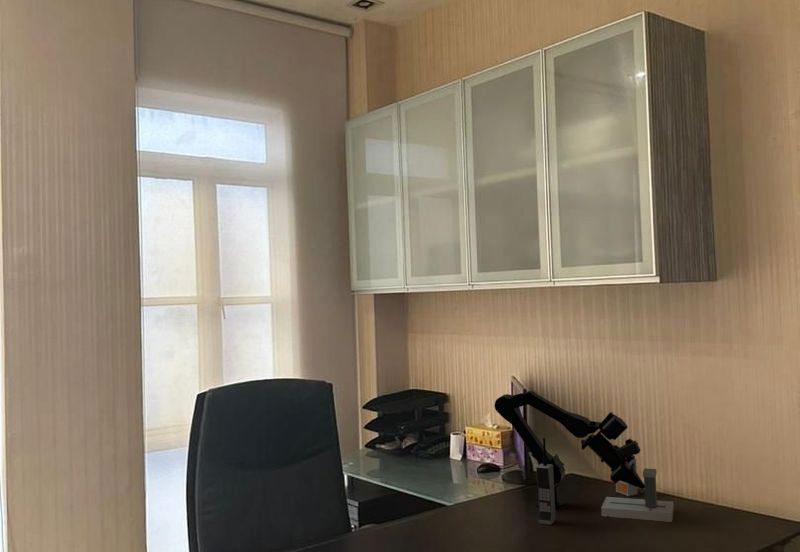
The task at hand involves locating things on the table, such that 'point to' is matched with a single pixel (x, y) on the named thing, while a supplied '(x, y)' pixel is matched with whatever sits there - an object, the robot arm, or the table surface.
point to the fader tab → (650, 487)
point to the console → (637, 509)
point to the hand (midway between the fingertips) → (644, 488)
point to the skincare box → (627, 485)
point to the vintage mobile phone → (546, 491)
